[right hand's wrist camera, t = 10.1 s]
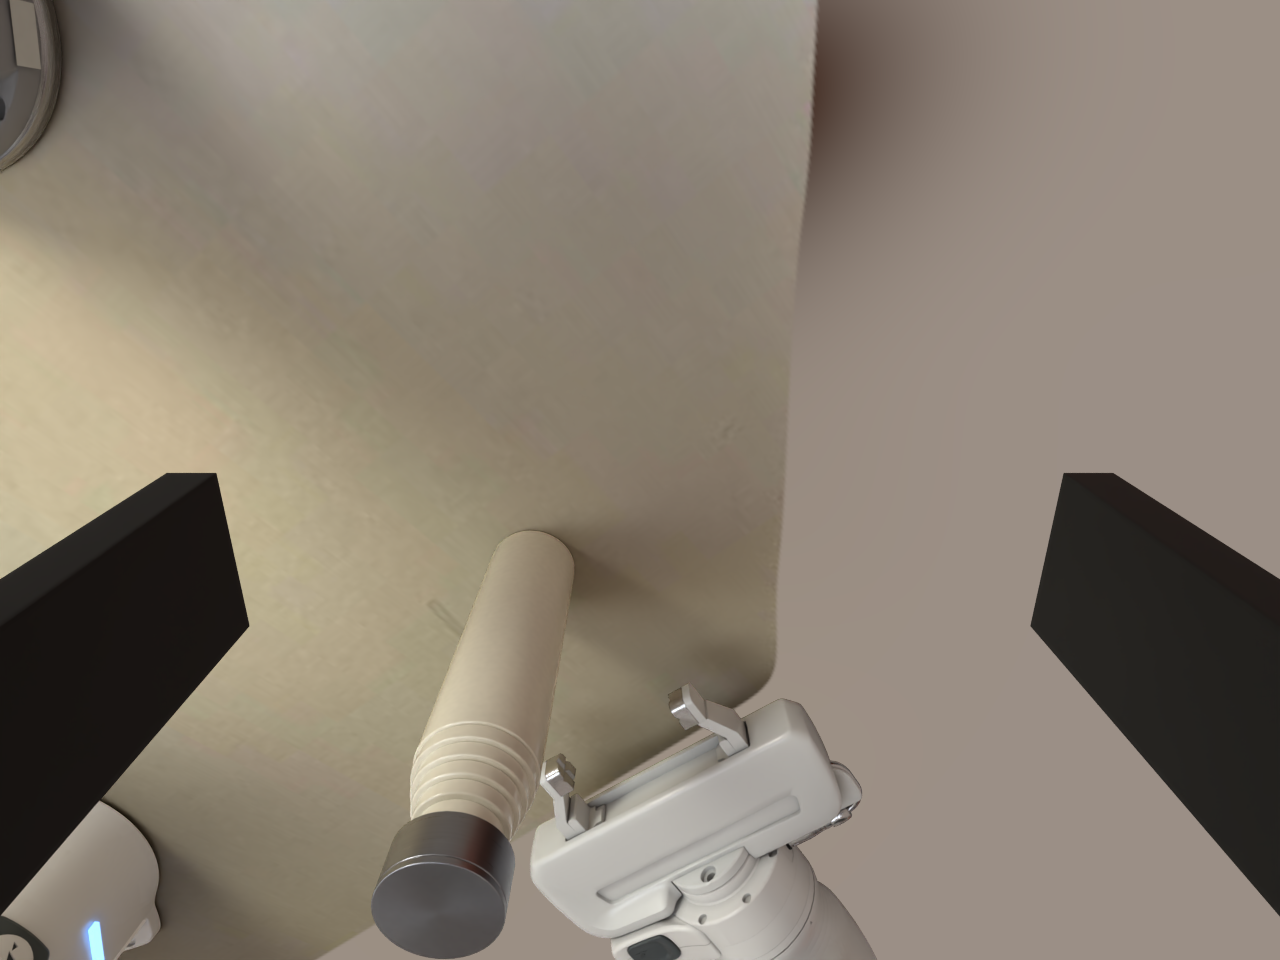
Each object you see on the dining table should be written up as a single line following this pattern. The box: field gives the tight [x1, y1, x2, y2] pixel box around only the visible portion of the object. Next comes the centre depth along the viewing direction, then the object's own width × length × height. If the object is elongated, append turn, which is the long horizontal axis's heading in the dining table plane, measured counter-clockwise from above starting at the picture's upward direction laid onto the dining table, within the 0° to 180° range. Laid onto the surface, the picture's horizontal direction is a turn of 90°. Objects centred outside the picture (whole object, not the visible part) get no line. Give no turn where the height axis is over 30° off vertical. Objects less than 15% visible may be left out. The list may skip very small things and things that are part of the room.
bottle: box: [410, 531, 575, 843], centre depth 38 cm, size 5×5×24 cm
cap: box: [371, 811, 515, 959], centre depth 27 cm, size 4×4×2 cm
